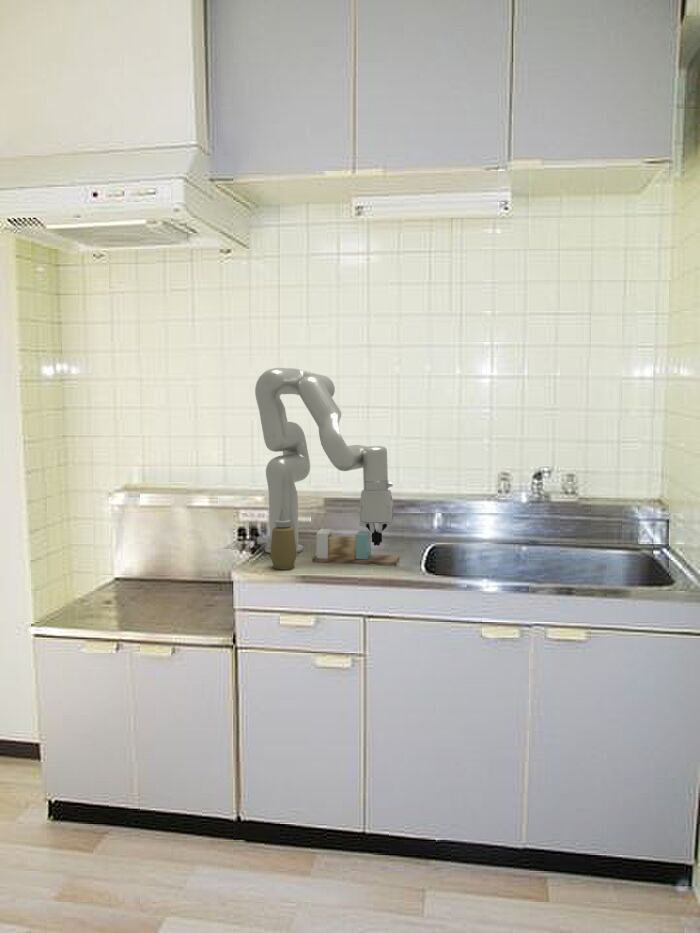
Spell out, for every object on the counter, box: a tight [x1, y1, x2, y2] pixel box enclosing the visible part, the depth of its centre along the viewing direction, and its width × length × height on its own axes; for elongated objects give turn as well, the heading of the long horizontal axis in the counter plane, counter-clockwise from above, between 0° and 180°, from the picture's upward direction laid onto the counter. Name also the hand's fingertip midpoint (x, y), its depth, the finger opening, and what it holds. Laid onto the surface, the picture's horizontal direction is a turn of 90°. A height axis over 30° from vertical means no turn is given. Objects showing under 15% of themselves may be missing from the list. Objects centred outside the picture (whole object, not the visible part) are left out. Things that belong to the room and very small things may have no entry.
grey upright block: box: [315, 528, 333, 559], centre depth 234 cm, size 4×7×8 cm, turn 170°
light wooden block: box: [328, 535, 356, 559], centre depth 233 cm, size 14×4×6 cm, turn 80°
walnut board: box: [312, 554, 400, 566], centre depth 232 cm, size 26×9×2 cm, turn 80°
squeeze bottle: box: [269, 508, 298, 570], centre depth 222 cm, size 8×8×18 cm
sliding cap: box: [355, 529, 372, 559], centre depth 232 cm, size 4×7×8 cm, turn 170°
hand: (377, 544), depth 231 cm, fingers closed
